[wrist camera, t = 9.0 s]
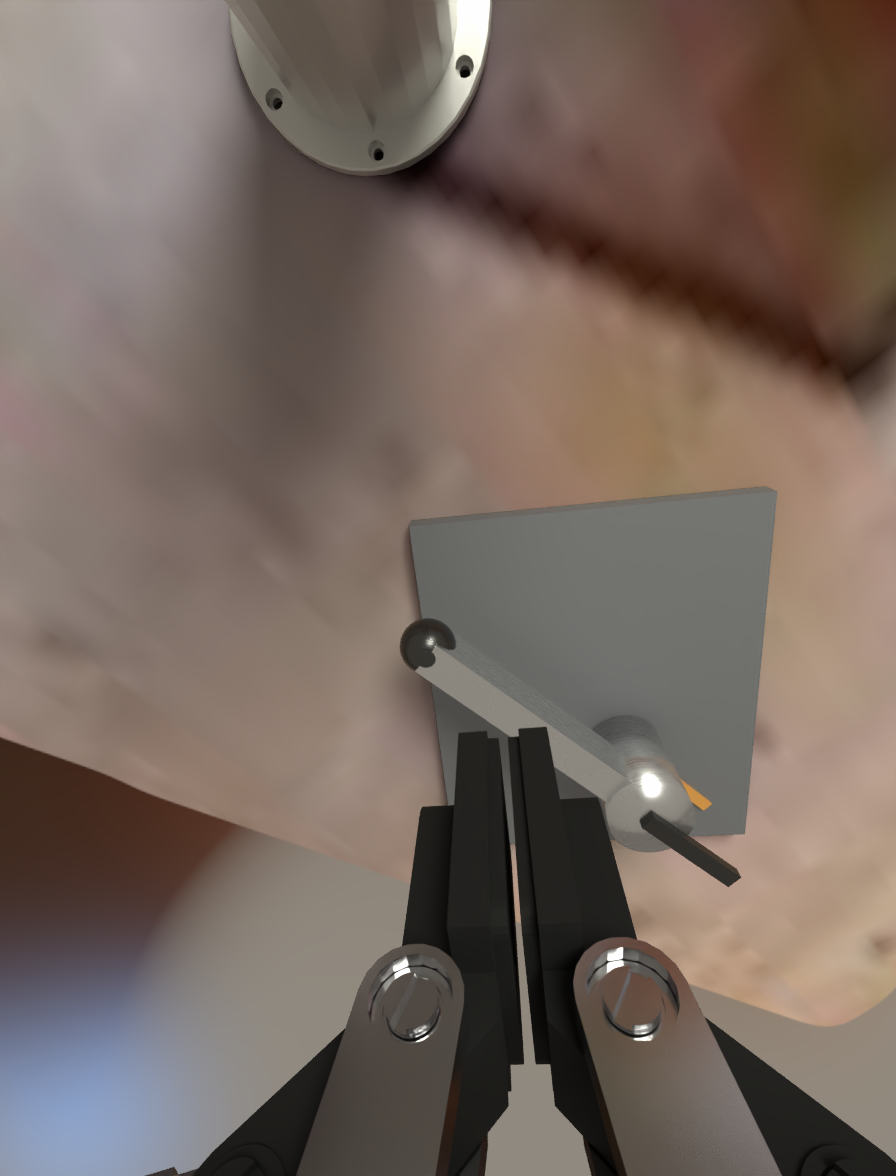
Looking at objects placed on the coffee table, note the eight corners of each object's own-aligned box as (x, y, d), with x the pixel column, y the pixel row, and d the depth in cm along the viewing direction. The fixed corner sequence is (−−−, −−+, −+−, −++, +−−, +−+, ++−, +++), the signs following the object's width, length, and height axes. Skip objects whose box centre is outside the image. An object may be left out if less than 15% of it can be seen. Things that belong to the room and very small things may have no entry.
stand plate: (411, 520, 37) (408, 527, 35) (765, 486, 34) (779, 492, 33) (454, 831, 46) (453, 848, 44) (736, 819, 44) (746, 836, 42)
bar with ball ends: (393, 624, 37) (372, 684, 30) (438, 568, 35) (427, 617, 28) (665, 814, 41) (703, 905, 34) (716, 771, 40) (767, 858, 33)
